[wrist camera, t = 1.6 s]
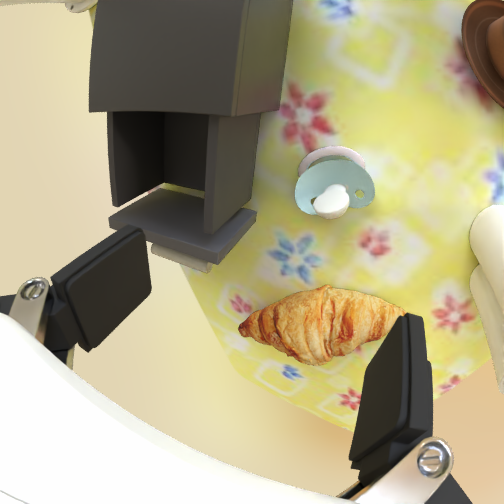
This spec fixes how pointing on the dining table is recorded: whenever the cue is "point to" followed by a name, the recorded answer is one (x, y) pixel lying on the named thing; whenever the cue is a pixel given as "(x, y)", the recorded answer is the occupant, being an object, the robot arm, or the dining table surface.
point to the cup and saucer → (486, 44)
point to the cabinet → (189, 56)
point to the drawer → (183, 180)
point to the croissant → (321, 323)
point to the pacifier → (333, 183)
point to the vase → (490, 281)
